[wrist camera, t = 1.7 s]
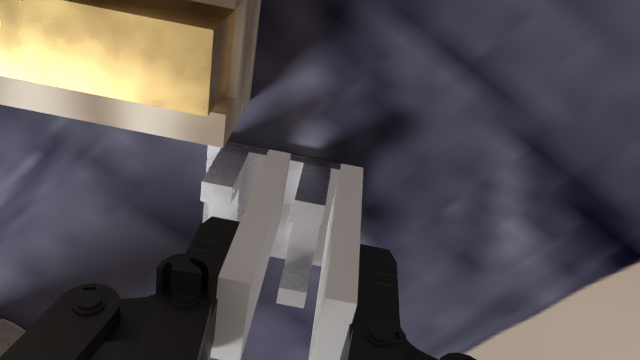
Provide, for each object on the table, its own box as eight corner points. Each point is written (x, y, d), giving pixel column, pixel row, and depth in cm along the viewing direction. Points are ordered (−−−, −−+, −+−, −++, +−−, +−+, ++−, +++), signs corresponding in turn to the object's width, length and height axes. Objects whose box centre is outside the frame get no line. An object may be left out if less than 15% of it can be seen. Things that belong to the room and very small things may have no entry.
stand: (204, 235, 43) (181, 284, 38) (211, 137, 38) (186, 178, 33) (324, 258, 43) (317, 311, 38) (345, 164, 38) (340, 208, 33)
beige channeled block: (24, 56, 36) (-51, 94, 30) (5, -105, 31) (-91, -101, 25) (250, 100, 37) (223, 148, 30) (267, -53, 31) (238, -35, 25)
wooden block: (-5, 40, 31) (-60, 63, 27) (-17, -41, 28) (-79, -28, 25) (228, 86, 31) (207, 116, 27) (235, 9, 29) (213, 30, 25)
